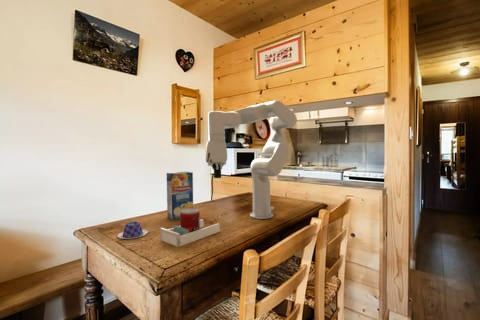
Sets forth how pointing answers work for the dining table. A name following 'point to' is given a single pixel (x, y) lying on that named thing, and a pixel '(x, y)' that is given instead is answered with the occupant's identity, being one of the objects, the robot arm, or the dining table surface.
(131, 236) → the blue checkered hat
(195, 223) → the canned food
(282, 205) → the dining table surface
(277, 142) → the robot arm
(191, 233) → the white shallow tray
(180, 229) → the pusher
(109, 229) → the dining table surface
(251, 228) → the dining table surface
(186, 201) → the blue food box
